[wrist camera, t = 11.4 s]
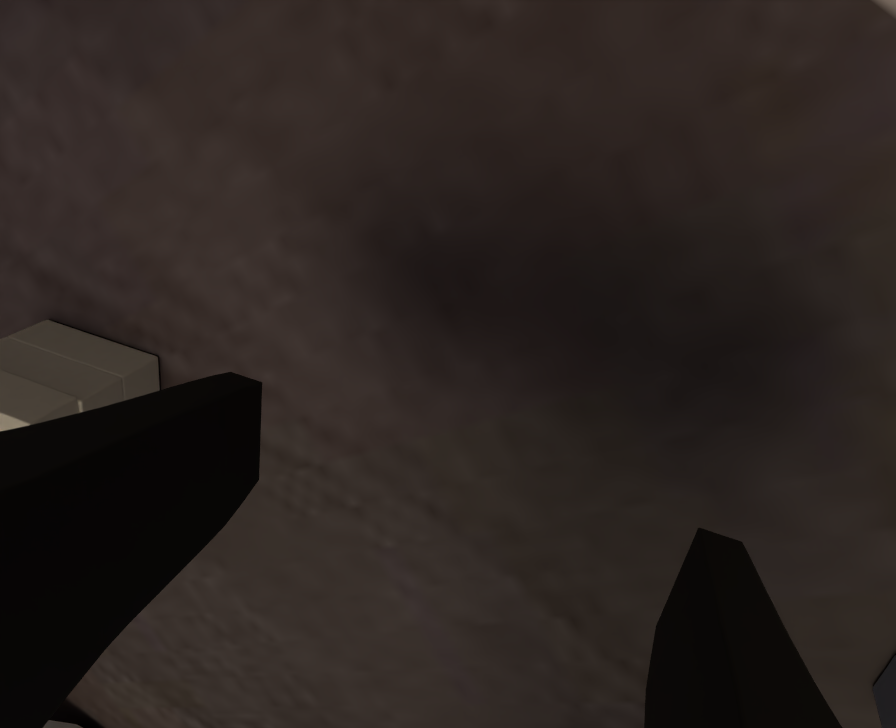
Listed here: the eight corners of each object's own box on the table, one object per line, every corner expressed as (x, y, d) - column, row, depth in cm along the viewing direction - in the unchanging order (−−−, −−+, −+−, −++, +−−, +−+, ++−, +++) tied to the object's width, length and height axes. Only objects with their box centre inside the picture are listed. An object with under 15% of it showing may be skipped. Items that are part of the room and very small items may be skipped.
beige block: (167, 525, 28) (101, 584, 25) (69, 485, 30) (-5, 537, 26) (159, 355, 25) (80, 401, 22) (46, 318, 26) (-43, 356, 23)
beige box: (98, 580, 25) (59, 615, 24) (-8, 534, 26) (-53, 565, 25) (77, 396, 22) (29, 424, 20) (-47, 351, 23) (-102, 374, 21)
